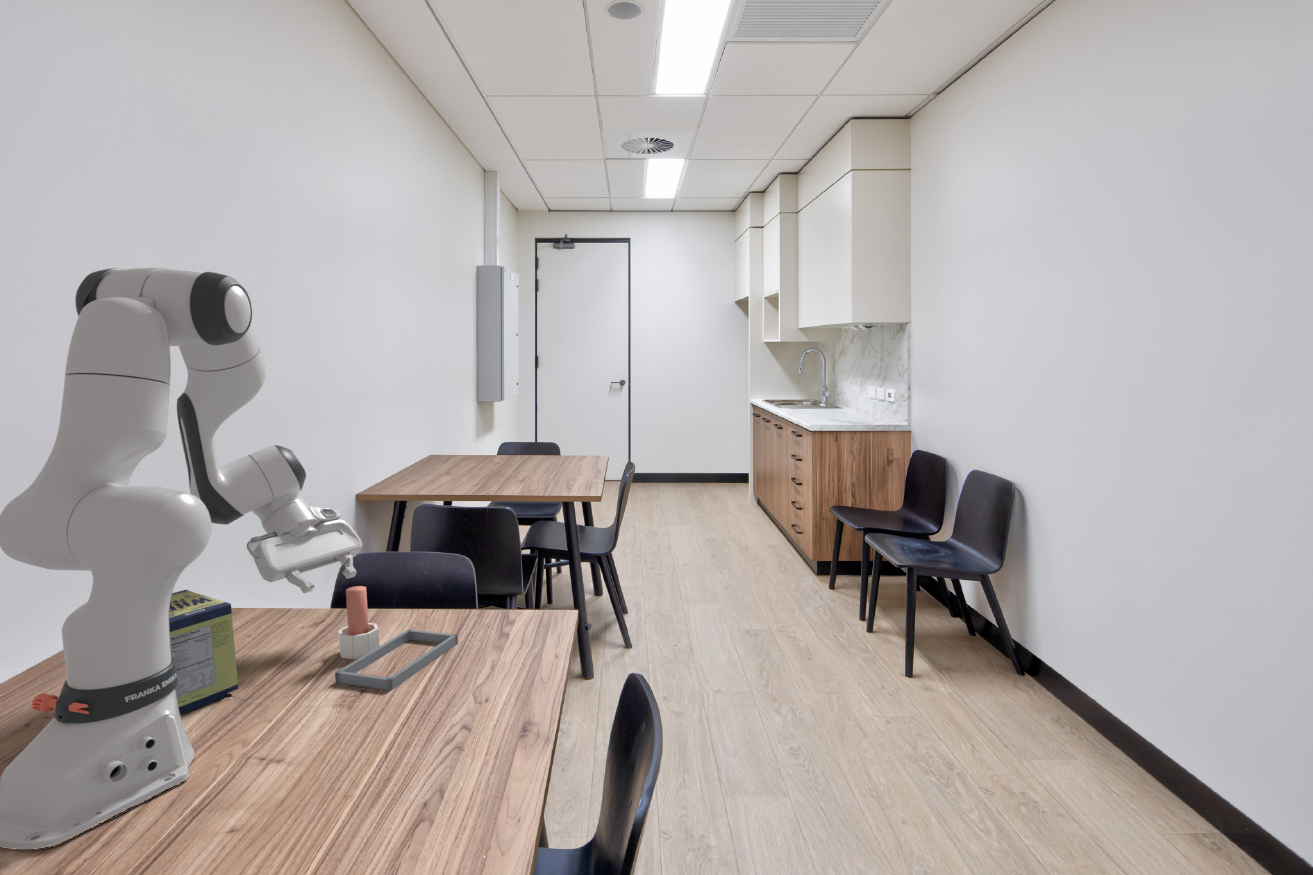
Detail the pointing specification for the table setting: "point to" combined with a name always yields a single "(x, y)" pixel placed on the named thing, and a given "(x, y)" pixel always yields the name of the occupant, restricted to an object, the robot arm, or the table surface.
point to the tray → (350, 671)
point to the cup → (358, 642)
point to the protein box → (201, 649)
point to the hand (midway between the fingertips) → (331, 583)
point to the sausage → (357, 610)
